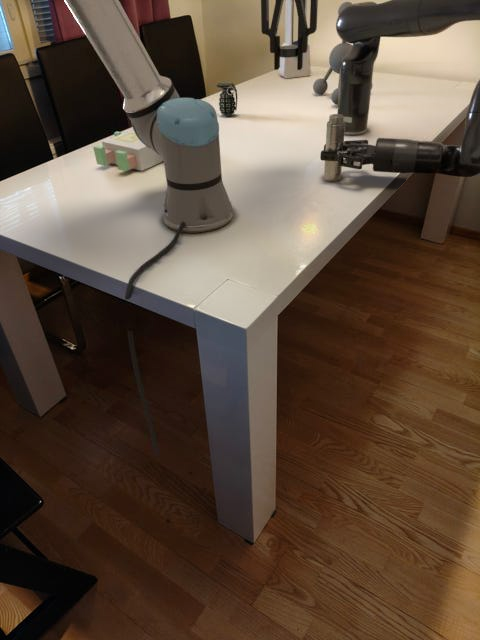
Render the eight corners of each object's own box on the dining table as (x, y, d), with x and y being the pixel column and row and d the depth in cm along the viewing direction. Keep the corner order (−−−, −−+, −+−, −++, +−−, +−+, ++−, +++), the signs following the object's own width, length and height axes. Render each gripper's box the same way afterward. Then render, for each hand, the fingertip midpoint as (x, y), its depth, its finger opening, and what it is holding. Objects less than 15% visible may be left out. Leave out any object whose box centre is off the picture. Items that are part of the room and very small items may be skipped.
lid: (275, 55, 113) (275, 46, 112) (294, 52, 114) (294, 44, 113) (283, 58, 110) (283, 49, 109) (302, 56, 111) (302, 47, 110)
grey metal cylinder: (328, 173, 124) (332, 112, 115) (343, 176, 122) (349, 114, 112) (320, 179, 121) (324, 117, 112) (335, 182, 119) (340, 119, 110)
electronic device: (283, 78, 209) (284, -5, 191) (278, 75, 215) (278, -6, 197) (310, 75, 212) (314, -8, 193) (304, 72, 217) (307, -9, 199)
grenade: (217, 117, 168) (214, 86, 162) (221, 112, 172) (219, 82, 166) (235, 117, 166) (233, 86, 160) (239, 113, 171) (238, 82, 165)
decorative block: (148, 117, 149) (198, 126, 139) (151, 138, 153) (200, 148, 143) (82, 141, 133) (133, 153, 123) (87, 165, 137) (138, 178, 127)
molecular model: (389, 100, 175) (402, 0, 156) (335, 109, 169) (342, 6, 150) (354, 87, 192) (362, -4, 174) (304, 94, 186) (307, 1, 168)
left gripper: (243, -55, 99) (247, 71, 113) (331, -60, 94) (324, 72, 109) (252, -56, 104) (255, 65, 119) (336, -61, 100) (328, 65, 114)
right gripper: (399, 130, 117) (327, 127, 121) (396, 150, 106) (318, 146, 111) (394, 160, 121) (326, 157, 126) (391, 183, 111) (316, 178, 115)
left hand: (288, 68), depth 114 cm, fingers closed on lid, 5 cm apart
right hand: (322, 151), depth 118 cm, fingers closed on grey metal cylinder, 4 cm apart
